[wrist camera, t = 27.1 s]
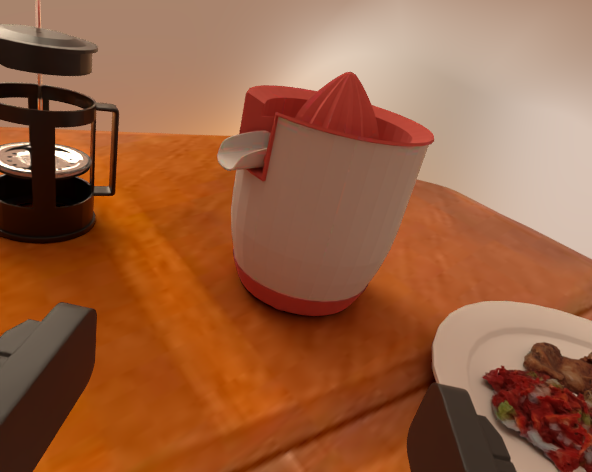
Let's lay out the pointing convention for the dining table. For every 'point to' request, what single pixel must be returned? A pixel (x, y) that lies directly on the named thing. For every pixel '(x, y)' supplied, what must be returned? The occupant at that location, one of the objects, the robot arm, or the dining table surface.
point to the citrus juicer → (318, 192)
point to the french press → (48, 138)
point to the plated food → (524, 379)
